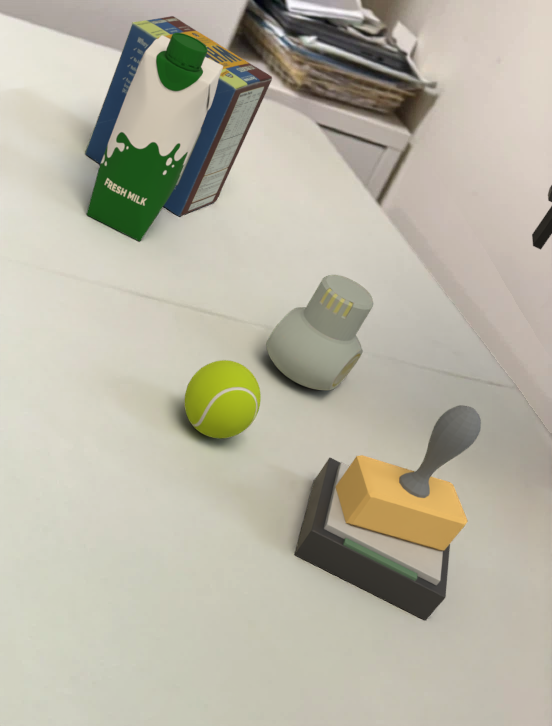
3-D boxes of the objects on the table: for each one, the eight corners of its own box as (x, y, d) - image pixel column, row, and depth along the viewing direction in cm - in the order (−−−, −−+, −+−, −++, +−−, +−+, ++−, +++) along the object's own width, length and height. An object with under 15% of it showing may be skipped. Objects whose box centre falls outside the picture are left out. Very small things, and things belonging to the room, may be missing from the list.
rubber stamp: (429, 512, 101) (513, 406, 92) (444, 553, 97) (533, 447, 89) (334, 484, 99) (411, 372, 90) (346, 525, 95) (427, 412, 86)
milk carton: (76, 214, 126) (146, 27, 111) (97, 189, 132) (166, 9, 117) (145, 248, 126) (223, 66, 111) (162, 221, 132) (239, 46, 117)
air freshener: (288, 338, 123) (335, 256, 116) (349, 378, 121) (400, 298, 114) (248, 366, 116) (295, 280, 108) (312, 409, 114) (364, 325, 107)
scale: (433, 541, 105) (456, 513, 103) (425, 621, 96) (450, 592, 94) (313, 481, 105) (333, 451, 103) (294, 555, 96) (315, 524, 94)
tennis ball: (247, 459, 104) (283, 398, 99) (182, 447, 101) (216, 384, 96) (227, 413, 108) (261, 353, 103) (164, 401, 106) (196, 338, 101)
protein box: (123, 141, 144) (172, 14, 133) (217, 202, 141) (275, 77, 130) (82, 153, 137) (130, 20, 126) (179, 218, 134) (238, 87, 123)
